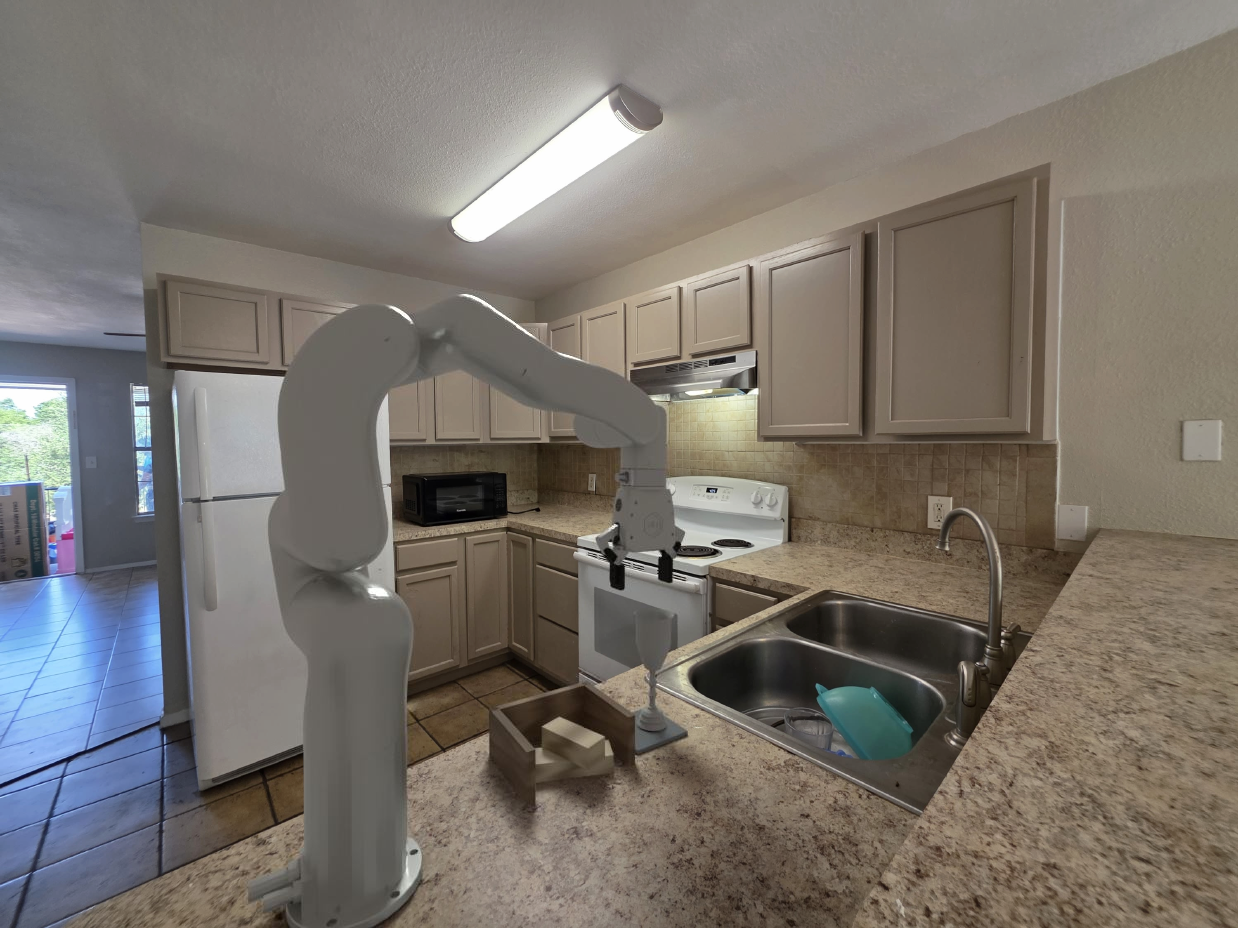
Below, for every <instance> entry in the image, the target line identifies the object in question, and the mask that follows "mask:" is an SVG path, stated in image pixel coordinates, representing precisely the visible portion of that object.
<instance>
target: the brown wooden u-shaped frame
mask: <svg viewBox="0 0 1238 928" xmlns="http://www.w3.org/2000/svg"><path fill="white" fill-rule="evenodd" d="M558 717H561V718H563V719H566V720H568V721H570V722H573V723H575V724H577V725H579V726H582V727H585V728H586V729H589V730H591V731H593V732H595V733H598V734H600V735H602V736H605V740H609V743H610V746H611V749H612V752H613V755H615V756H617V757H618V758H619V759H620V760H622V761H623V762H624V763H625V765H627V766H631V765H634V764H635V763H636V753H635V715H634V714H633V713H632V712H631V711H630V710H628V708H626V707H625V706H623V705H621V704H620V703H618V702H617V701H616V700H614V699H613V698H611V697H610V696H609V695H607V694H606V693H605V692H603V691H602V690H600V689H599V688H598V687H596V686H594V685H593V684H592V683H591V682H589V681H587V680H585V681H582V682H579V683H576V684H571V685H567V686H564V687H560V688H558V689H553V690H551V691H547V692H543V693H539V694H535V695H532V696H529V697H528V696H527V697H526V698H522V699H518V700H515V701H510V702H507V703H504V704H500V705H496V706H493V707H489V708H488V725H489V726H488V740H489V741H488V751H489V752H488V754H489V757H490V758H491V759H492V761H493V763H495V765H496V766H497V767H498V769H499V770H500V772H501V774H502V775H504V777H505V779H506V780H507V781H508V783H509V784H510V786H511V787H512V788H513V789H514V791H515V793H516V794H517V795H518V796H519V798H520V799H521V801H522V803H524V805H525V806H526V807H527V808H528V807H530V806H532V805H535V804H536V803H537V802H536V794H537V791H536V788H537V786H536V784H537V783H536V754H535V746H533V745H536V744H539V743H542V726H544V725H545V724H547V723H549V722H551V721H553V720H554V719H556V718H558Z"/></svg>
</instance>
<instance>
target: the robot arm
mask: <svg viewBox="0 0 1238 928" xmlns="http://www.w3.org/2000/svg"><path fill="white" fill-rule="evenodd" d="M459 370H460V371H463V372H465V373H467V374H469V375H470V376H471V377H474V378H475V379H477V380H479V381H481V382H483V383H484V384H486V385H488V386H489V387H491V388H493V389H494V390H496V391H498V392H500V393H501V394H503V395H505V396H506V397H509V398H510V399H511V400H514V401H516V402H517V403H518V404H520V405H522V406H524V407H525V406H526V407H528V408H532V409H536V410H541V411H545V412H550V413H551V412H553V413H562V414H563V413H565V414H570V415H574V417H573V420H572V427H573V432H574V434H575V436H576V438H577V439H578V441H580V442H581V443H583V444H584V445H586V446H588V447H591V448H595V449H614V448H620V469H619V473H618V472H617V473H615V474H614V480H615V482H619V485H620V487H619V488H617V489H616V492H615V498H614V504H613V511H612V523H611V526H610V527H608V528H607V529H606V530H604V531H602V532H601V533H599V534H597V535H596V537H595V542H596V544H597V546H598V549H599V553H600V554H601V555H602V556H603V557H604V558H605V560H606V563H609V578H608V579H609V583H610V584H609V585H610V587H611V589H614V590H617V591H619V592H621V591H624V590H625V588H626V566H625V564H623V562H624V560H625V558H626V557H627V556H628V554H629V553H644V552H646V553H647V552H655V551H657V552H658V553H659V554H660V556H658V559H657V580H658V581H659V582H662V583H666V584H673V580H674V578H673V577H674V576H673V575H674V560H675V559H676V558H677V557H678V556H677V555H678V552H679V551H680V549H681V547H682V543H683V540H684V538H685V535H686V531H685V530H684V529H681V528H680V527H679V526H677V525H676V519H675V509H674V500H673V496H672V492H671V489H670V488H667V450H668V449H667V444H668V443H667V440H668V439H667V435H668V434H667V432H668V430H667V429H668V421H667V420H668V414H667V410H666V409H665V408H664V407H663V406H661V405H658V404H656V402H655V401H654V400H653V399H652V398H651V397H650V396H649V395H648V394H647V393H646V392H644V390H642V389H641V388H640V387H638V386H637V385H635V384H634V383H633V382H631V381H630V380H629V379H627V378H625V377H624V376H622V375H621V374H619V373H617V372H615V371H613V370H610V369H608V368H605V367H603V366H599V365H596V364H594V363H591V362H588V361H585V360H582V359H580V358H578V357H574V356H570V355H568V354H563V353H561V352H558V351H556V350H554V348H552V347H550V346H549V345H547V344H545V342H543V341H541V340H540V338H539V339H538V338H537V337H535V336H534V335H533V334H531V333H530V332H528V331H527V330H526V329H524V328H523V327H521V326H520V325H519V324H517V323H516V322H514V321H513V320H511V319H510V318H508V317H507V316H506V315H504V314H503V313H501V312H500V311H498V310H497V309H495V308H494V307H492V306H491V305H490V304H488V303H487V302H485V301H484V300H482V299H480V298H478V297H477V296H473V295H470V294H465V293H464V294H463V293H462V294H461V293H460V294H453V295H450V296H448V297H445V298H443V299H441V300H439V301H437V302H435V303H433V304H430V305H429V306H427V307H424V308H423V309H421V310H418V311H416V312H415V311H414V312H411V313H407V314H406V313H405V312H404V311H403V310H401V309H399V308H397V307H396V306H393V305H390V304H386V303H382V302H370V303H369V302H368V303H363V304H358V305H355V306H353V307H350V308H348V309H346V310H344V311H342V312H341V313H339V314H337V315H335V316H333V317H332V318H330V319H328V320H327V321H325V323H323V324H322V325H320V326H319V327H318V328H316V330H315V331H314V332H312V333H311V335H309V337H308V338H307V339H306V340H305V341H304V342H303V344H302V346H300V348H299V349H298V351H297V352H296V354H295V355H294V357H293V358H292V360H291V362H290V364H289V366H288V368H287V370H286V373H285V375H284V377H283V380H282V383H281V387H280V391H279V395H278V402H277V431H278V432H277V433H278V442H279V448H280V460H281V470H282V471H281V472H282V475H283V476H282V478H283V484H284V490H282V492H281V493H280V494H278V496H277V497H276V498H275V500H274V502H273V503H272V506H271V508H270V511H269V514H268V519H267V520H268V521H267V536H268V544H269V545H268V546H269V552H270V557H271V558H270V559H271V562H272V570H273V576H274V583H275V587H276V593H277V598H278V599H277V600H278V605H279V610H280V614H281V620H282V623H283V627H284V629H285V631H286V633H287V635H288V637H289V639H290V640H291V641H292V642H293V644H294V645H295V646H296V647H297V648H298V649H299V650H300V651H301V652H302V654H303V655H304V656H305V657H306V663H307V682H306V683H307V684H306V691H305V696H304V697H305V698H304V706H303V707H304V708H303V716H302V717H303V720H302V721H303V724H302V725H303V726H302V751H303V844H301V845H300V846H299V851H298V853H299V855H298V856H299V857H298V858H296V859H293V860H291V861H288V862H287V866H286V867H283V868H281V869H278V870H275V871H271V872H267V873H265V874H262V875H260V876H257V877H255V878H251V879H249V880H248V889H247V890H248V892H247V895H248V896H247V899H248V900H247V902H248V903H247V904H248V905H250V904H253V903H255V902H256V903H257V902H258V901H261V900H262V914H263V915H264V914H267V913H270V912H272V911H274V910H277V909H279V908H280V907H281V906H285V916H286V917H285V918H286V922H287V924H288V926H289V928H373V927H376V926H377V925H378V924H380V923H382V922H383V921H385V920H386V919H388V918H390V916H392V915H394V913H396V911H398V910H399V909H400V908H401V907H402V906H403V905H404V904H405V903H406V902H407V901H408V900H409V899H410V897H411V896H412V895H413V894H414V892H415V891H416V890H417V887H418V886H419V883H420V881H421V879H422V876H423V871H424V869H423V868H424V857H423V850H422V849H421V847H420V845H419V843H418V842H417V841H416V840H415V839H414V838H412V837H410V836H409V835H408V725H407V719H408V717H407V714H408V711H407V710H408V709H407V708H408V707H407V705H408V704H407V703H408V702H407V701H408V698H407V697H408V683H409V682H408V680H409V674H410V673H409V671H410V665H411V661H412V660H411V659H412V655H413V654H412V653H413V648H414V638H415V636H414V634H415V629H414V628H415V627H414V622H413V618H412V615H411V614H412V613H411V611H410V609H409V607H408V605H407V604H406V603H405V600H404V599H402V597H401V596H400V594H399V595H398V593H397V592H395V591H394V590H393V589H391V588H390V587H388V586H386V585H384V584H382V583H380V582H378V581H376V580H374V579H371V578H370V575H369V568H368V565H370V564H371V563H373V562H374V561H375V560H376V559H377V558H378V557H379V556H380V554H381V553H382V551H383V550H384V548H385V547H386V544H387V541H388V539H389V538H388V537H389V517H388V511H387V505H386V500H385V493H384V487H383V480H382V474H381V467H380V462H379V455H378V454H379V453H378V441H377V440H378V439H377V424H378V423H377V422H378V417H379V411H380V409H381V406H382V404H383V402H384V400H385V398H386V396H387V395H388V394H389V392H390V391H391V390H392V389H396V388H400V387H404V386H407V385H412V384H416V383H418V382H421V381H422V382H423V381H425V380H429V379H432V378H435V377H438V376H442V375H445V374H448V373H452V372H456V371H459ZM609 541H611V544H612V548H611V547H610V544H609Z"/></svg>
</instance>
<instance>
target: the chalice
mask: <svg viewBox="0 0 1238 928" xmlns="http://www.w3.org/2000/svg"><path fill="white" fill-rule="evenodd" d="M633 615H634V618H635V645H636V649H637V650H638V651H637V652H638V655H639V658H640V660H641V661H642V664H643V667H644V669H646V670H647V671H649V678H648V679H649V680H648V681H647V683H648V684H649V690H648V692H647V693H646V694H647V695H648V697H649V702H648V704H647V706H645V707H643V708H642V709H643V710H642V711H641V714H640V716H639V719H638V721H637V725H638V726H639V727H640V728H642V729H644V730H648V731H659V730H662V729H665V728H666V727H667V722H666V720H665V717H664V716H665V715H664V711H663V710H662V709H661V707H659V706H657V705H656V697H657V696H658V692H657V690H656V686H657V684H658V681H657V678H656V674H657V671H660V670H661V669H662V667H663V665H664V663H665V661H666V659H667V656H668V654H669V652H670V648H671V645H672V620H673V619H674V617H675V614H674V612H672V611H670V610H667V609H662V608H654V607H653V608H652V607H651V608H650V607H647V608H641V609H636V610H634V611H633Z"/></svg>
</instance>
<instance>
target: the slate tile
mask: <svg viewBox="0 0 1238 928" xmlns="http://www.w3.org/2000/svg"><path fill="white" fill-rule="evenodd" d="M642 710H643V708H641V709H639V710H636V711H635V710H634V711H632V712H631V713H633V714H634V715H635V754H636V753H637V754H638V755H640V754H642V752H643V753H645V752H648V751H651V750H652V748H653V749H655V748H658V747H661V746H662V745H666V744H668V743H670V742H669V741H671V742H673V741H676V740H678V739H680V737H681V738H683V737H686V736H688V733H689V732H688V730H687V729H686V728H684V727H682V726H681V725H679V724H678V723H676V722H674V720H671V719H670V718H669V717H667V716H666V715H664V717H665V720H666V722H667V727H666V728H665V729H662V730H659V731H648V730H644V729H642V728H640V727H639V726H638V725H637V721H638V719H639V716H640V714H641V711H642ZM685 735H686V736H685ZM675 739H676V740H675ZM672 740H673V741H672ZM667 742H668V743H667ZM665 743H666V744H665ZM660 745H661V746H660ZM647 750H648V751H647ZM637 754H636V755H637Z"/></svg>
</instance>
